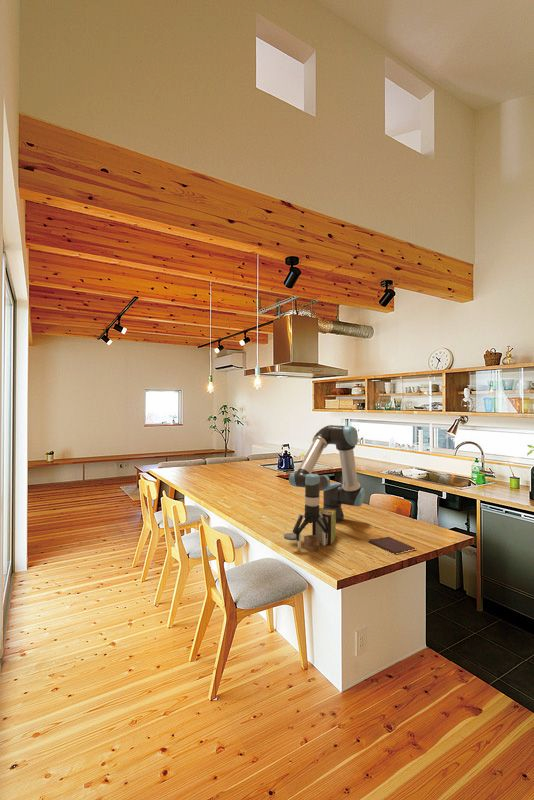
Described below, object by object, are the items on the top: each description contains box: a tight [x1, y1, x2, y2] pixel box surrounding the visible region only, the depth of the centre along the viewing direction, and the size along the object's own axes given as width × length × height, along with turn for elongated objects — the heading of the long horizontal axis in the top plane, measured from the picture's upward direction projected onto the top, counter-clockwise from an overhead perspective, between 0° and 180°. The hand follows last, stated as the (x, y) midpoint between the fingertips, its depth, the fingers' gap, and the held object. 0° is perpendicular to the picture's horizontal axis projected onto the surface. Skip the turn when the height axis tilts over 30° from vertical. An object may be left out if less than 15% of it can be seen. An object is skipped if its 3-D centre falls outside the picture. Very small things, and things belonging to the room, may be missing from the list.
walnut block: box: [303, 534, 320, 552], centre depth 204 cm, size 6×6×6 cm
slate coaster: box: [283, 532, 297, 541], centre depth 221 cm, size 9×9×1 cm
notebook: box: [368, 536, 416, 555], centre depth 209 cm, size 15×20×2 cm
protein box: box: [311, 507, 337, 546], centre depth 218 cm, size 10×15×16 cm
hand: (311, 545), depth 204 cm, fingers open, 13 cm apart
